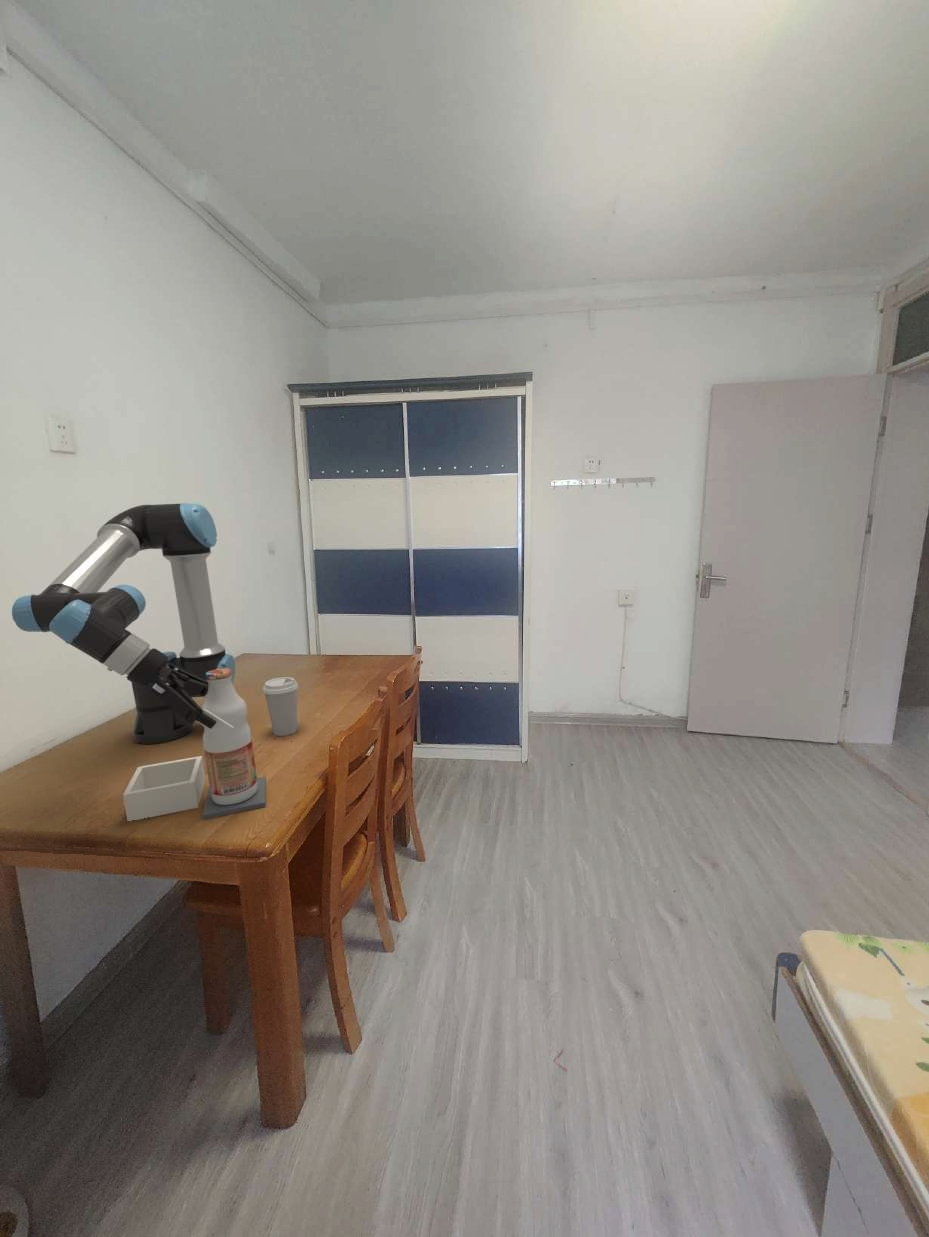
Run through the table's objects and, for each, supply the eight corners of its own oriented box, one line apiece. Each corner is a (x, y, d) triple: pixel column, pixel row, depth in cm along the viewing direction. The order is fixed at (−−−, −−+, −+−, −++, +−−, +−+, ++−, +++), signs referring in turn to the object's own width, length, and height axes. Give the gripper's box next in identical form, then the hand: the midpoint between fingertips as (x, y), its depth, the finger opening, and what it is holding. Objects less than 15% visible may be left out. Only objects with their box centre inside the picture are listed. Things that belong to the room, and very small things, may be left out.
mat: (209, 791, 116) (208, 787, 116) (266, 780, 120) (265, 776, 120) (202, 819, 105) (202, 815, 105) (265, 806, 109) (265, 802, 109)
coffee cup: (291, 739, 142) (286, 687, 139) (260, 737, 144) (254, 686, 141) (308, 725, 151) (303, 676, 148) (279, 724, 153) (274, 675, 150)
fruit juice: (201, 801, 110) (182, 675, 104) (237, 780, 118) (221, 663, 113) (232, 810, 106) (214, 680, 100) (267, 788, 114) (252, 667, 109)
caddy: (142, 791, 117) (138, 766, 116) (205, 779, 121) (201, 755, 120) (127, 821, 105) (122, 795, 104) (198, 807, 109) (194, 781, 108)
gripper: (139, 660, 112) (223, 714, 120) (106, 696, 89) (213, 759, 97) (163, 634, 113) (245, 689, 121) (136, 663, 90) (240, 728, 98)
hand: (231, 720), depth 109 cm, fingers open, 13 cm apart
